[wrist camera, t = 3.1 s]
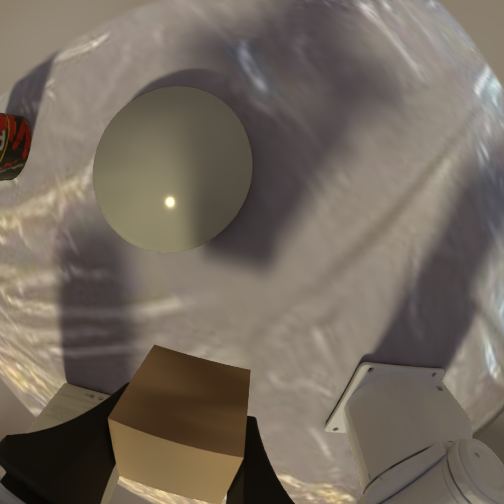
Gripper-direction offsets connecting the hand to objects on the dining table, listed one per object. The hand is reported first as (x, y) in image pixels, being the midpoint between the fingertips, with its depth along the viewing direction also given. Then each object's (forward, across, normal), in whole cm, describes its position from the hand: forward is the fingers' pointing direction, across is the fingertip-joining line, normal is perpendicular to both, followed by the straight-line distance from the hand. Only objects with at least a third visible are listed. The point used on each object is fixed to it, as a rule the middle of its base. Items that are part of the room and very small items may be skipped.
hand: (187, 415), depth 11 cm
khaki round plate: (+9, +5, -10) cm, 14 cm away
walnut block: (+2, 0, 0) cm, 2 cm away
